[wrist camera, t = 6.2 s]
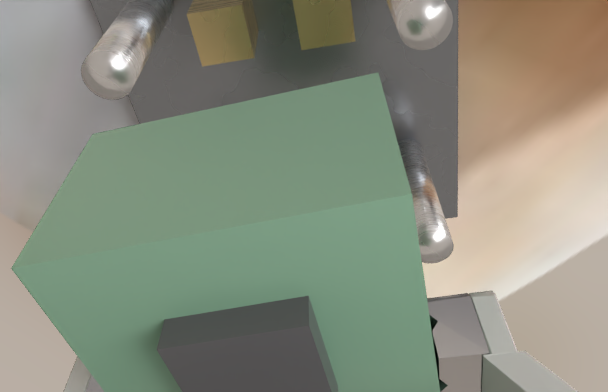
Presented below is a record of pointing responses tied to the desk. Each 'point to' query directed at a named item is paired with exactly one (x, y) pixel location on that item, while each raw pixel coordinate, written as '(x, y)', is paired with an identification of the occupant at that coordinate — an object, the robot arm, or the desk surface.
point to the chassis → (297, 71)
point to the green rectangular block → (241, 251)
